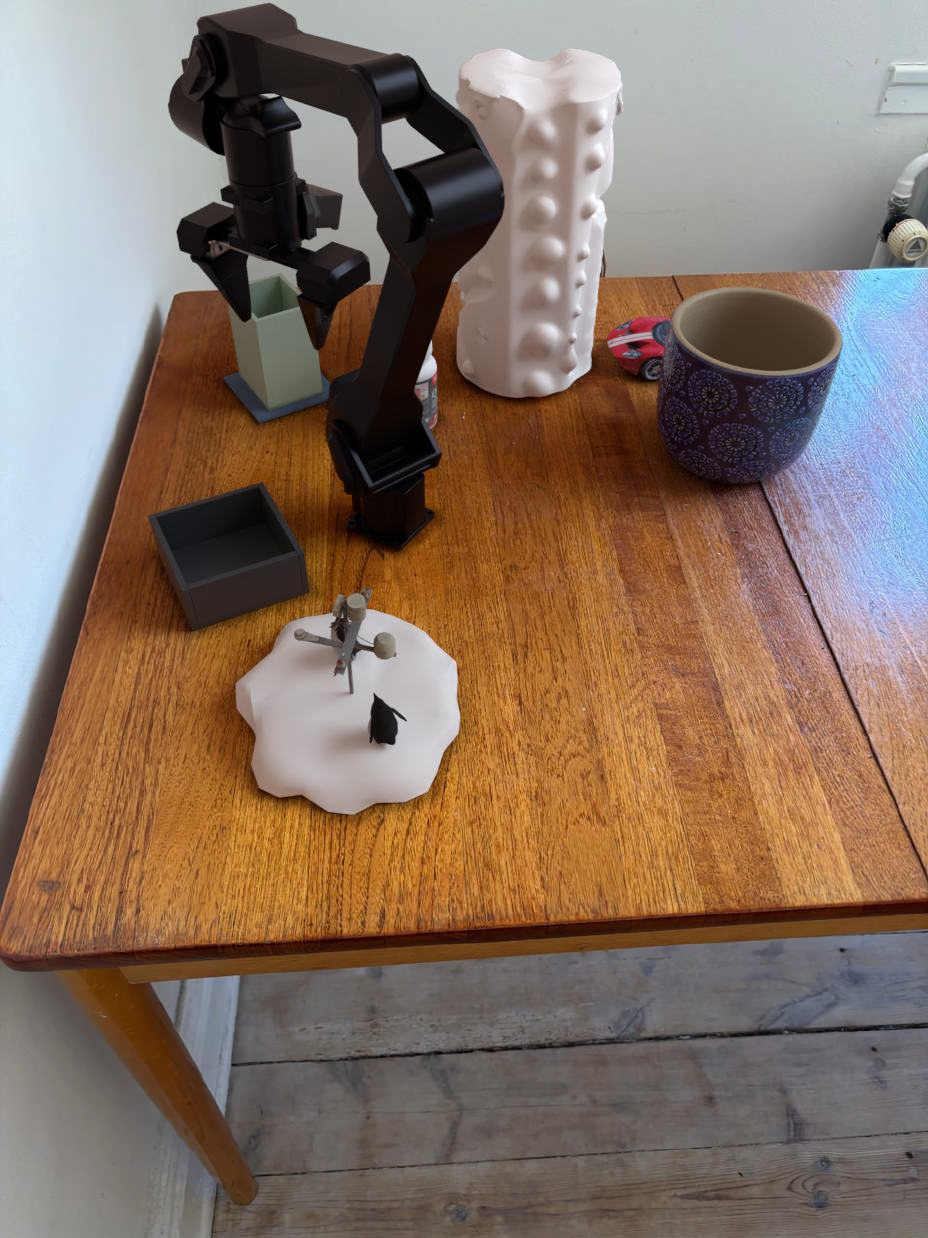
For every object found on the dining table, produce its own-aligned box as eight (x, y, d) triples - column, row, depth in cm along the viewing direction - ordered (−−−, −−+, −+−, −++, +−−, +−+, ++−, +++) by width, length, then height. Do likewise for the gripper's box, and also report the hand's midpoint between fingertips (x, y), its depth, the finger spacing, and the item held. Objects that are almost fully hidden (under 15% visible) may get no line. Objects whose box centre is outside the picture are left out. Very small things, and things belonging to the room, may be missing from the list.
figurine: (242, 619, 88) (213, 486, 75) (449, 610, 90) (456, 477, 77) (231, 829, 76) (193, 712, 63) (471, 813, 78) (482, 696, 65)
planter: (664, 395, 115) (687, 273, 104) (812, 425, 111) (851, 302, 100) (631, 481, 104) (653, 354, 93) (794, 518, 100) (836, 390, 90)
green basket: (322, 394, 114) (313, 304, 106) (269, 411, 111) (255, 321, 103) (292, 360, 118) (281, 272, 110) (239, 376, 116) (224, 288, 108)
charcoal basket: (269, 521, 99) (262, 481, 95) (309, 592, 92) (304, 552, 89) (158, 555, 96) (147, 515, 92) (192, 631, 89) (181, 591, 85)
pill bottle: (445, 430, 110) (445, 349, 103) (395, 441, 108) (392, 360, 101) (427, 402, 113) (425, 322, 106) (379, 412, 112) (374, 332, 105)
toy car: (600, 340, 123) (604, 303, 119) (774, 337, 124) (784, 300, 120) (612, 384, 116) (617, 346, 113) (796, 380, 117) (807, 342, 114)
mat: (341, 396, 114) (340, 393, 114) (259, 423, 110) (258, 420, 110) (302, 355, 120) (301, 352, 120) (223, 379, 116) (222, 376, 116)
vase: (456, 322, 125) (458, 37, 102) (587, 326, 125) (618, 41, 102) (449, 401, 114) (450, 99, 90) (594, 405, 113) (631, 104, 90)
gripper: (403, 166, 89) (408, 326, 100) (242, 119, 95) (263, 274, 107) (324, 213, 82) (338, 378, 93) (157, 159, 89) (189, 319, 100)
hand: (282, 333), depth 99 cm, fingers open, 9 cm apart
